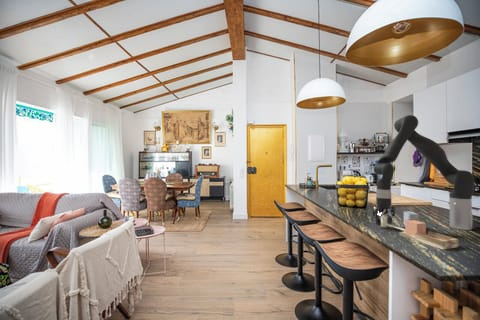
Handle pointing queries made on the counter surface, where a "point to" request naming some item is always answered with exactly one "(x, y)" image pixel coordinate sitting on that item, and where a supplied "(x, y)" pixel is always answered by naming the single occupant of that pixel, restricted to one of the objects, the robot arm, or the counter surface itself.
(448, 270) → the counter surface
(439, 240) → the lane board
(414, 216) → the medicine box
